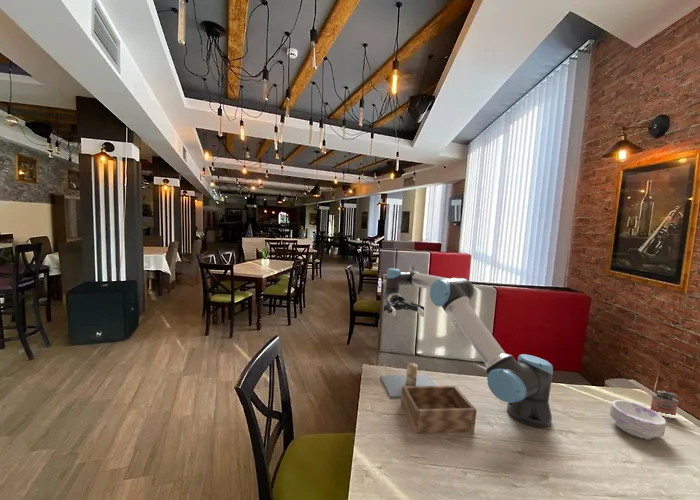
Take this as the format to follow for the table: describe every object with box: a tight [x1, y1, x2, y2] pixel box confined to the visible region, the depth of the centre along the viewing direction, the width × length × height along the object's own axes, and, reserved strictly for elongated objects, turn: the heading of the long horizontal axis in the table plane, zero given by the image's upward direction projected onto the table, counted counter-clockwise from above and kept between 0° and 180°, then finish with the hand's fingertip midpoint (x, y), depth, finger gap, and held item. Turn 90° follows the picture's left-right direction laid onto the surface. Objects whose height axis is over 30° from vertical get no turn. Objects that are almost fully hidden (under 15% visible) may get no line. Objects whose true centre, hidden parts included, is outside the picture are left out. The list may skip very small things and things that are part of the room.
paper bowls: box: [609, 399, 667, 440], centre depth 117 cm, size 15×15×8 cm
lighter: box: [650, 390, 679, 416], centre depth 128 cm, size 8×3×10 cm, turn 68°
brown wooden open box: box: [400, 385, 477, 434], centre depth 117 cm, size 22×16×8 cm
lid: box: [380, 362, 437, 399], centre depth 137 cm, size 23×17×10 cm
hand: (409, 313), depth 144 cm, fingers open, 13 cm apart
